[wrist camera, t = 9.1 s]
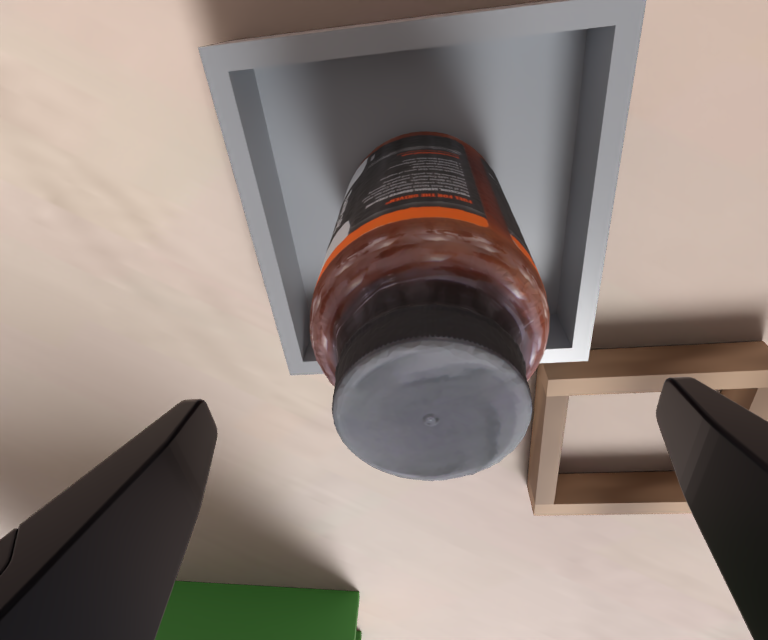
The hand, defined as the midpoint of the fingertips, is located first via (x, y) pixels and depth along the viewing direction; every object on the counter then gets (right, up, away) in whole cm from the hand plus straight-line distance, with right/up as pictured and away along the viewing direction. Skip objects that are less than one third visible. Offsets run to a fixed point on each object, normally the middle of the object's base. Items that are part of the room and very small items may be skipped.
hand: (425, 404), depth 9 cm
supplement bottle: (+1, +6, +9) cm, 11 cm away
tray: (+1, +6, +10) cm, 12 cm away
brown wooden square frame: (+12, -4, +16) cm, 20 cm away
